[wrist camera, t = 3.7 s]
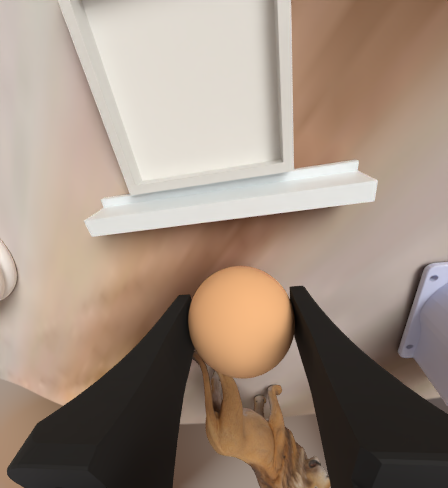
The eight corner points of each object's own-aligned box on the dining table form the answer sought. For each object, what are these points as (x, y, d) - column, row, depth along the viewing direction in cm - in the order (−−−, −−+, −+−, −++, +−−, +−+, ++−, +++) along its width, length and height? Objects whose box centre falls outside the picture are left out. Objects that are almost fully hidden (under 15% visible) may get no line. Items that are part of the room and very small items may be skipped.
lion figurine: (317, 396, 24) (353, 532, 16) (280, 413, 26) (297, 540, 18) (205, 332, 20) (182, 469, 12) (173, 358, 22) (137, 488, 15)
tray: (289, 165, 13) (293, 171, 12) (139, 189, 14) (130, 195, 13) (282, -84, 8) (289, -115, 7) (67, -18, 10) (44, -36, 9)
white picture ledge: (351, 195, 13) (372, 210, 11) (116, 225, 15) (95, 244, 13) (355, 159, 12) (379, 169, 10) (103, 197, 14) (79, 212, 12)
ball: (286, 312, 14) (306, 401, 10) (207, 317, 15) (192, 403, 10) (283, 242, 12) (307, 318, 7) (189, 252, 12) (159, 327, 8)
